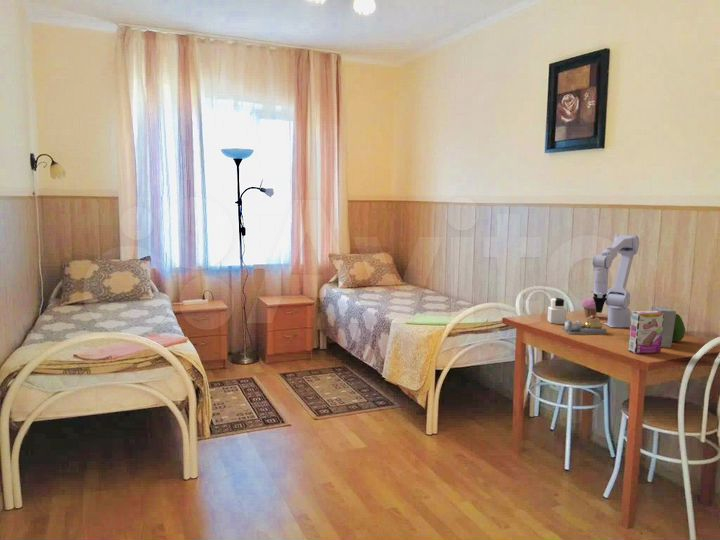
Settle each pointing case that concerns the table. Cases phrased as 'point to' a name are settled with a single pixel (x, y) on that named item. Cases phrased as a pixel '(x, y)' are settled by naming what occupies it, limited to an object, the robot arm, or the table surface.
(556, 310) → the medicine bottle
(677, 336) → the avocado
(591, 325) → the valve
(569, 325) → the grey piece
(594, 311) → the cupcake
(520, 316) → the table surface
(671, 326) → the skincare box
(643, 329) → the candy bar box
